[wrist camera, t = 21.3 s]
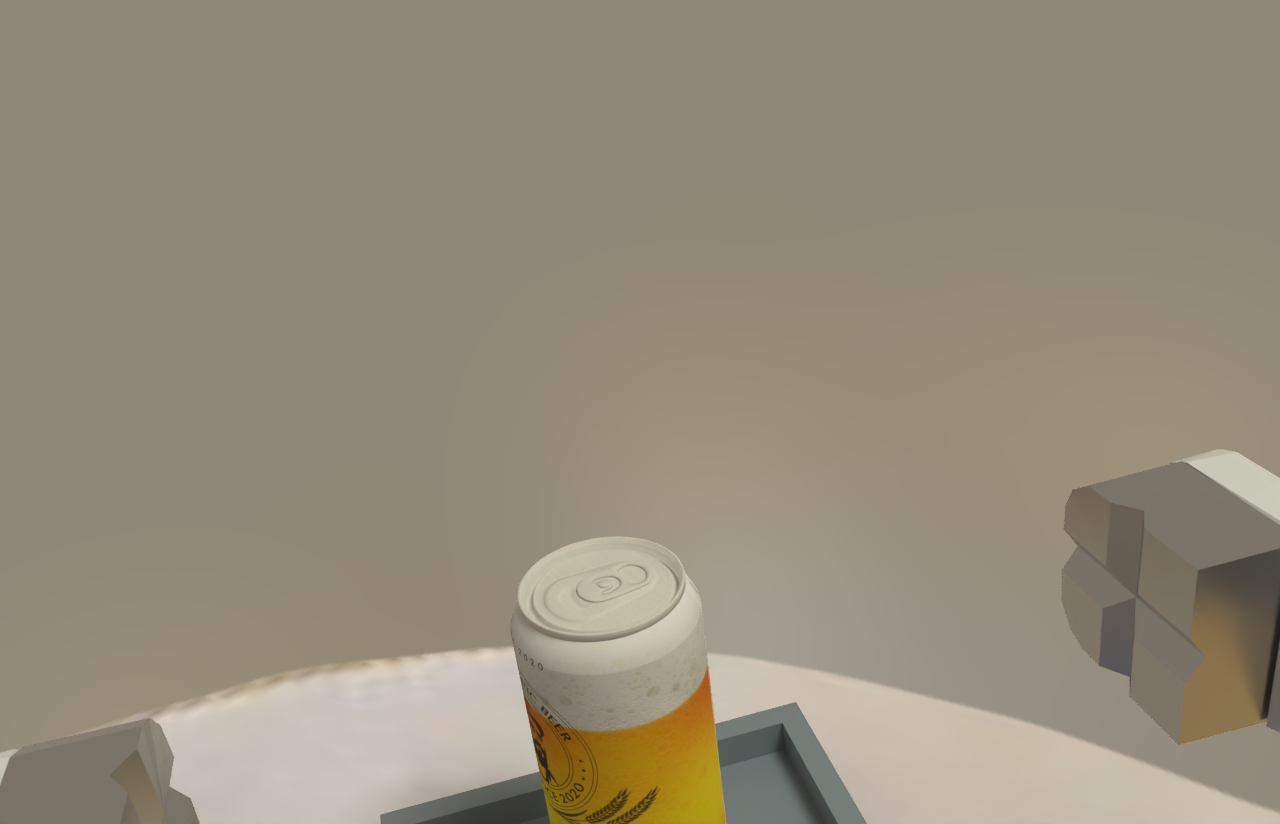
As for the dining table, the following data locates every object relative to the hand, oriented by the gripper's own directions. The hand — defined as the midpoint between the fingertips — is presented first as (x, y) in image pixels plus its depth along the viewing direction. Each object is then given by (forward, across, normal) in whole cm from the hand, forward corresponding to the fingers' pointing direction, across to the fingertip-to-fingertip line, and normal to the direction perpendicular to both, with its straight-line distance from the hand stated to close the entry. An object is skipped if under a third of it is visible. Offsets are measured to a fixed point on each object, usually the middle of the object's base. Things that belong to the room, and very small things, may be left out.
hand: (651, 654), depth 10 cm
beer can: (+22, -2, +29) cm, 37 cm away
